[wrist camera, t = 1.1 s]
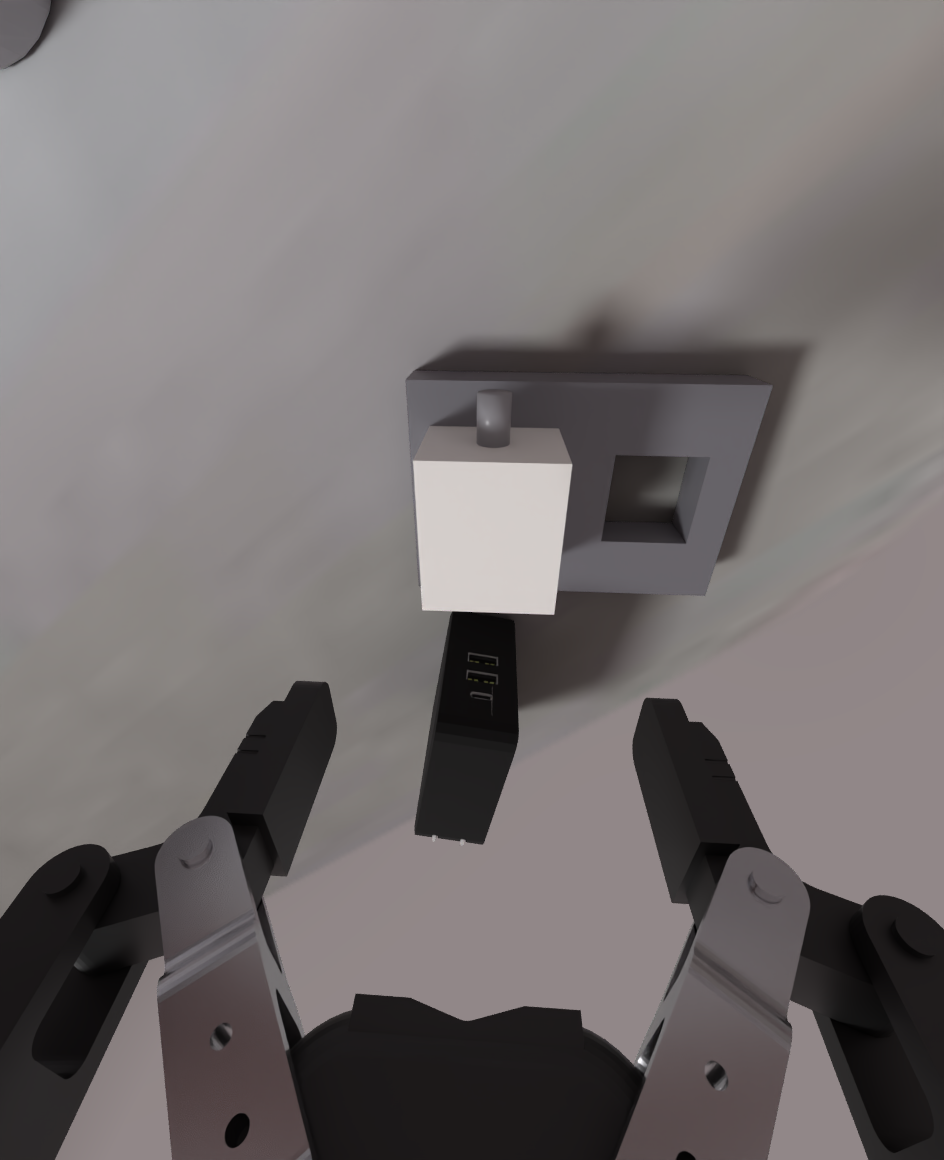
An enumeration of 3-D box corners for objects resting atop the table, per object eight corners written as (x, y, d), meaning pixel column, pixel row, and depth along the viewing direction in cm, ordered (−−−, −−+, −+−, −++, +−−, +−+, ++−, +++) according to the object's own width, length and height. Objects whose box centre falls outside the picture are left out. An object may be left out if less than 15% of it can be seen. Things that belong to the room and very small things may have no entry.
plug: (433, 372, 23) (409, 405, 17) (558, 374, 23) (578, 408, 17) (439, 539, 28) (422, 610, 22) (542, 542, 28) (553, 614, 22)
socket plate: (414, 370, 23) (405, 379, 21) (747, 375, 23) (773, 385, 21) (424, 564, 29) (418, 586, 27) (690, 572, 29) (705, 595, 27)
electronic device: (515, 615, 31) (521, 741, 23) (486, 718, 36) (482, 851, 28) (452, 604, 31) (433, 727, 22) (432, 709, 36) (412, 841, 28)
